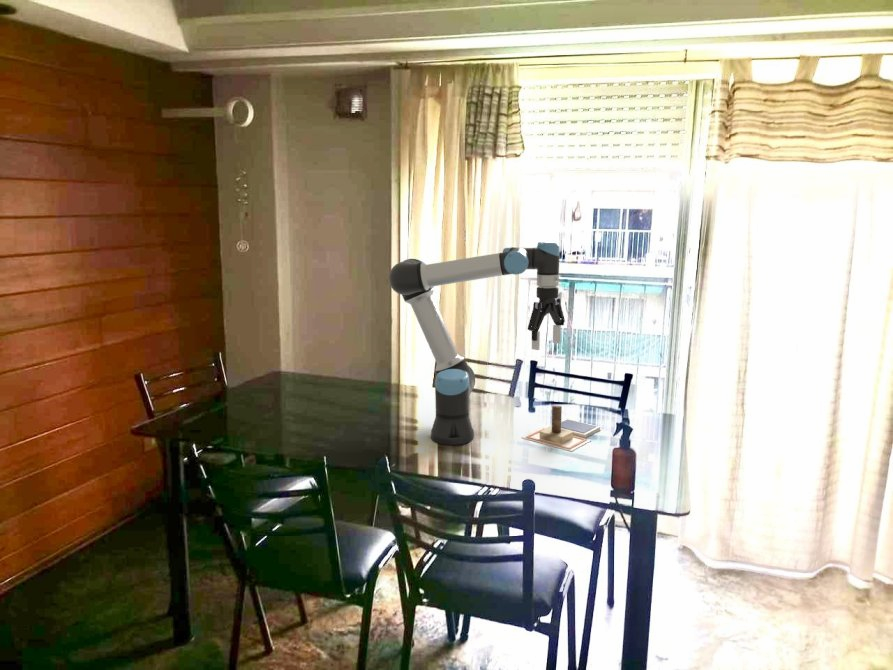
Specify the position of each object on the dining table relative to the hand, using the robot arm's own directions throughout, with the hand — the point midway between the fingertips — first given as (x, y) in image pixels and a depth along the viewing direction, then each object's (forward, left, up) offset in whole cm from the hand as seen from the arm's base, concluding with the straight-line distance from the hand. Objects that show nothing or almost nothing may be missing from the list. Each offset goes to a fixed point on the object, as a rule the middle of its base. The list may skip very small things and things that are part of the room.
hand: (546, 346), depth 234 cm
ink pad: (+9, +6, -31) cm, 33 cm away
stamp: (+9, -7, -30) cm, 32 cm away
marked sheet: (+9, -7, -31) cm, 33 cm away
